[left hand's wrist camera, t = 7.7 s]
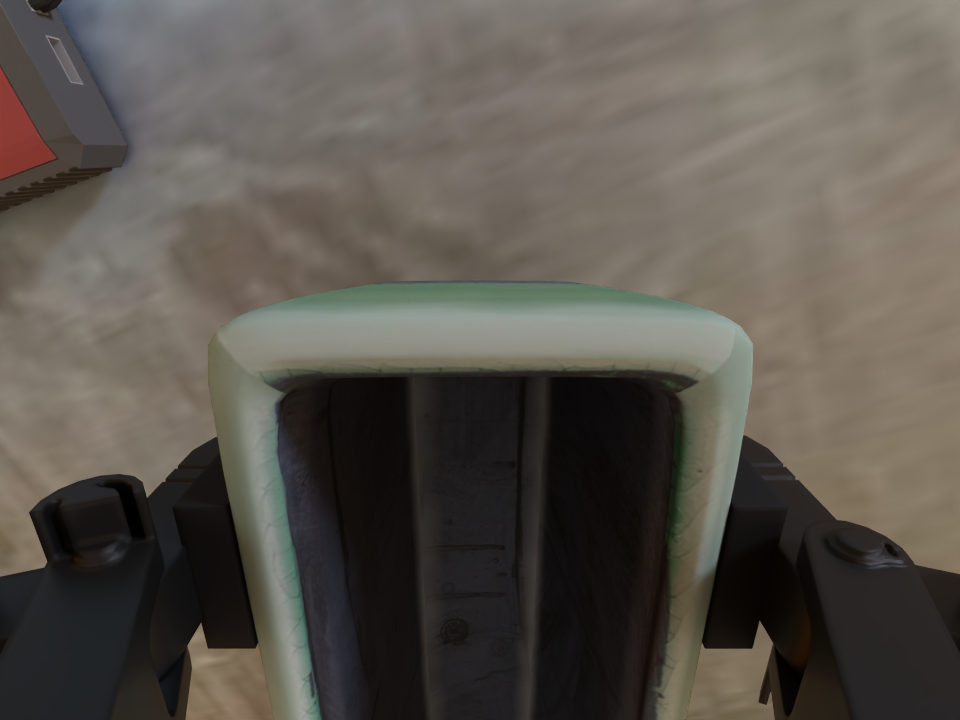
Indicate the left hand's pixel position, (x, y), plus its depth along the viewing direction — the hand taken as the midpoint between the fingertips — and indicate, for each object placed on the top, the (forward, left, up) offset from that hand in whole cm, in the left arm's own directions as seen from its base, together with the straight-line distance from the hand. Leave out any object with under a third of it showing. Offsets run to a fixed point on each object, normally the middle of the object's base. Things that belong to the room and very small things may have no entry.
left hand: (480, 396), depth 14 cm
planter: (+10, 0, -1) cm, 10 cm away
